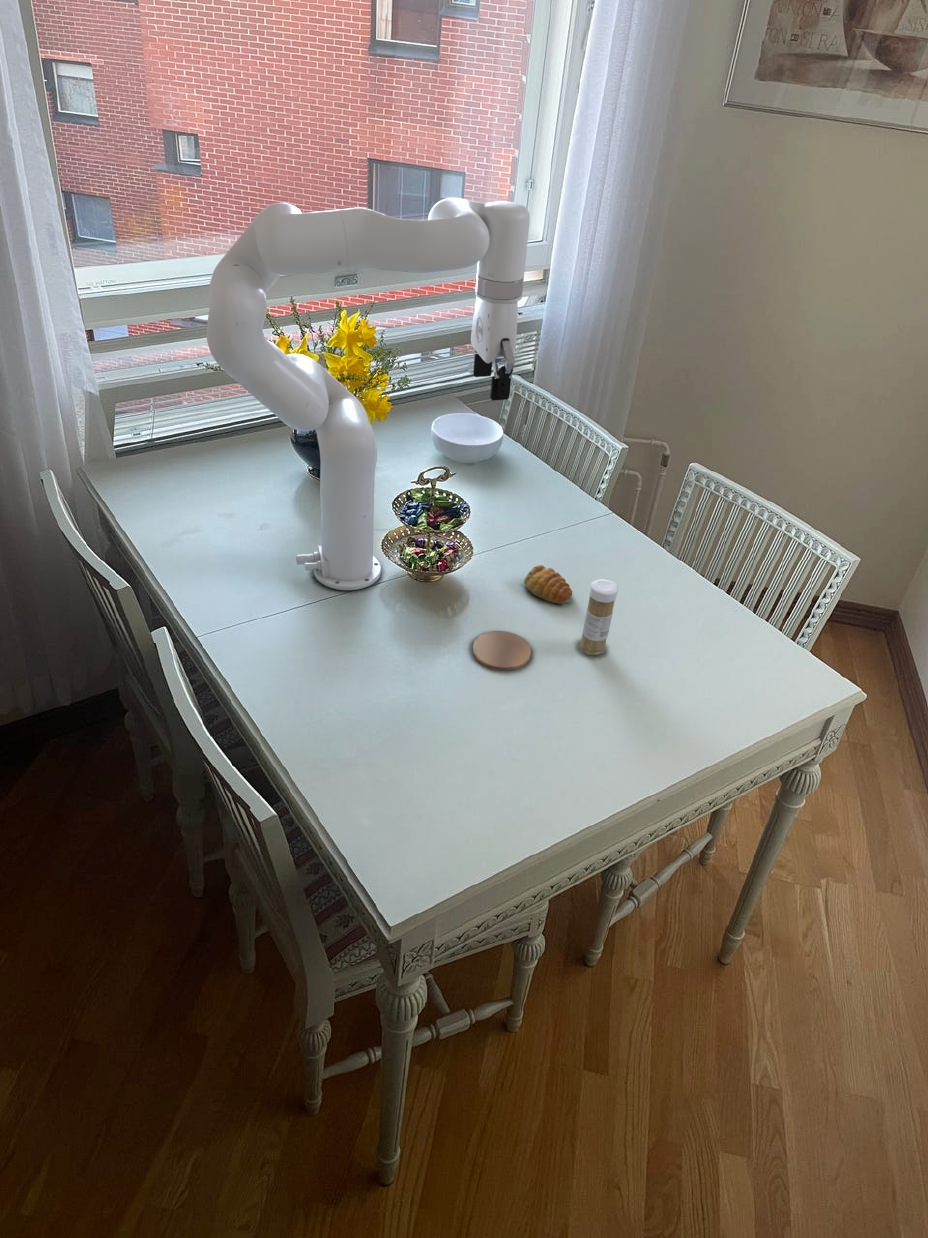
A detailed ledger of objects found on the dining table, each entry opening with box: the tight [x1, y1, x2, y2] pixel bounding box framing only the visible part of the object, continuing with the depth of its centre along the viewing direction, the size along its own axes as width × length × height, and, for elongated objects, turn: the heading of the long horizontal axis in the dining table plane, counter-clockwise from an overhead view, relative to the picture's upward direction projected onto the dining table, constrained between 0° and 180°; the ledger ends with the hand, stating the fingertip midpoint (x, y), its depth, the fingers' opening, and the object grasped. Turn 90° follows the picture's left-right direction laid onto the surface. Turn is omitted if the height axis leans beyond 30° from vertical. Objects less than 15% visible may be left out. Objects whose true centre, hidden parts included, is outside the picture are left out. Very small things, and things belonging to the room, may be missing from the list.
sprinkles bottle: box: [579, 578, 619, 656], centre depth 158 cm, size 5×5×14 cm
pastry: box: [523, 564, 573, 605], centre depth 174 cm, size 9×7×4 cm
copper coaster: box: [472, 630, 532, 671], centre depth 160 cm, size 10×10×1 cm
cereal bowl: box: [430, 412, 504, 464], centre depth 215 cm, size 17×17×7 cm
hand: (490, 387), depth 159 cm, fingers open, 9 cm apart
